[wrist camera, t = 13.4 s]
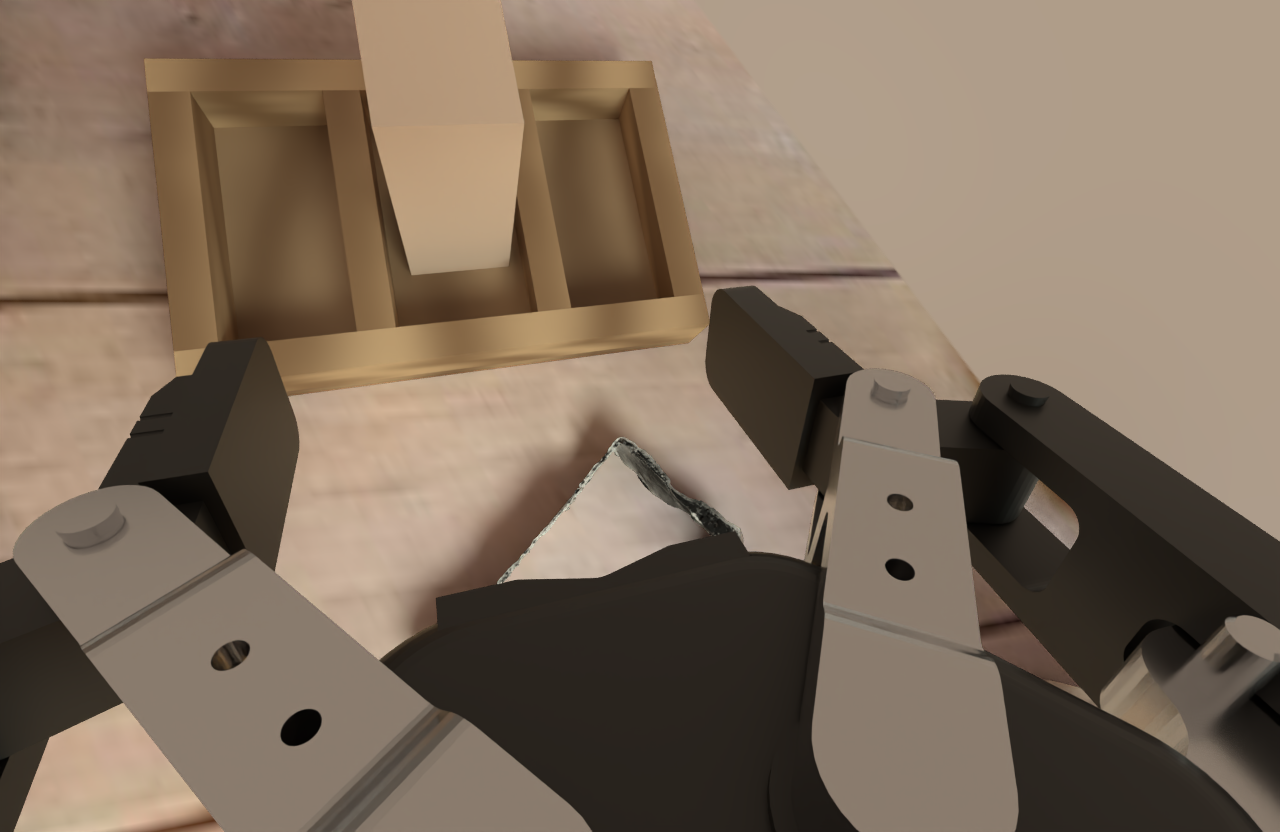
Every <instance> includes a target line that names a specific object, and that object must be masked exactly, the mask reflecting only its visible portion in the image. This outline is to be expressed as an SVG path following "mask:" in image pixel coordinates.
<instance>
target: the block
mask: <svg viewBox="0 0 1280 832" xmlns="http://www.w3.org/2000/svg"><path fill="white" fill-rule="evenodd" d="M352 5H353V11H354V17H355V24H356V30H357V36H358V43H359V49H360V55H361V62H362V68H363V74H364V81H365V87H366V93H367V100H368V106H369V112H370V119H371V125H372V130H373V133H374V137H375V141H376V145H377V148H378V152H379V156H380V159H381V163H382V167H383V171H384V174H385V178H386V182H387V186H388V189H389V193H390V197H391V201H392V204H393V208H394V212H395V215H396V219H397V223H398V227H399V230H400V234H401V238H402V242H403V245H404V249H405V253H406V257H407V260H408V264H409V268H410V271H411V275H420V274H432V273H443V272H454V271H465V270H476V269H487V268H498V267H509V260H510V251H511V241H512V232H513V223H514V214H515V204H516V195H517V186H518V177H519V168H520V158H521V149H522V140H523V131H524V119H523V114H522V108H521V103H520V98H519V93H518V88H517V83H516V77H515V72H514V67H513V62H512V57H511V52H510V46H509V41H508V36H507V31H506V26H505V21H504V16H503V10H502V5H501V0H352Z"/></svg>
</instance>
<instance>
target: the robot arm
mask: <svg viewBox="0 0 1280 832" xmlns="http://www.w3.org/2000/svg"><path fill="white" fill-rule="evenodd" d="M705 363H706V373H707V378H708V381H709V384H710V386H711V388H712V389H713V391H714V392H715V393H716V395H717V396H718V397H719V398H720V400H721V401H722V402H723V404H724V405H725V406H726V408H727V409H728V410H729V412H730V413H731V414H732V416H733V417H734V418H735V420H736V421H737V422H738V424H739V425H740V426H741V428H742V429H743V430H744V431H745V433H746V434H747V435H748V437H749V438H750V439H751V441H752V442H753V443H754V445H755V446H756V447H757V449H758V450H759V451H760V453H761V454H762V455H763V457H764V458H765V459H766V461H767V462H768V463H769V464H770V466H771V467H772V468H773V470H774V471H775V472H776V474H777V475H778V476H779V478H780V479H781V480H782V482H783V483H784V484H785V486H786V487H787V488H788V490H790V489H795V488H800V487H805V486H809V485H814V484H815V486H816V487H817V488H818V490H817V494H816V498H815V502H814V506H813V512H812V518H811V523H810V529H809V535H808V541H807V547H806V553H805V559H804V561H803V560H799V559H796V558H792V557H789V556H784V555H779V554H773V553H764V552H748V551H747V550H746V548H745V546H744V545H743V543H742V541H741V540H740V538H739V536H738V535H737V533H736V531H733V532H728V533H724V534H719V535H715V536H710V537H706V538H701V539H697V540H692V541H688V542H683V543H679V544H674V545H670V546H667V547H665V548H663V549H661V550H659V551H657V552H655V553H653V554H651V555H648V556H646V557H644V558H642V559H640V560H638V561H636V562H634V563H632V564H630V565H627V566H625V567H623V568H621V569H619V570H617V571H615V572H613V573H611V574H609V575H606V576H603V577H599V578H581V579H528V580H514V581H509V582H505V583H500V584H496V585H491V586H487V587H482V588H478V589H473V590H469V591H464V592H460V593H456V594H451V595H447V596H442V597H438V598H436V606H437V622H438V623H437V624H435V625H433V626H431V627H429V628H426V629H424V630H422V631H421V632H419V633H417V634H416V635H414V636H412V637H411V638H409V639H407V640H405V641H404V642H403V643H401V644H400V645H398V646H397V647H396V648H394V649H393V650H391V651H390V652H389V653H387V654H386V655H385V656H384V657H382V658H381V659H380V660H378V659H377V658H376V657H374V656H373V655H372V654H371V653H370V652H368V651H367V650H366V649H365V648H364V647H363V646H361V645H360V644H359V643H358V642H357V641H355V640H354V639H353V638H352V637H351V636H350V635H348V634H347V633H346V632H345V631H344V630H342V629H341V628H340V627H339V626H338V625H337V624H335V623H334V622H333V621H332V620H331V619H330V618H328V617H327V616H326V615H325V614H324V613H322V612H321V611H320V610H319V609H318V608H317V607H315V606H314V605H313V604H312V603H311V602H309V601H308V600H307V599H306V598H305V597H304V596H302V595H301V594H300V593H299V592H298V591H296V590H295V589H294V588H293V587H292V586H291V585H289V584H288V583H287V582H286V581H285V580H283V579H282V578H281V577H280V576H279V575H278V574H276V573H275V567H276V562H277V557H278V552H279V547H280V542H281V537H282V532H283V527H284V522H285V517H286V513H287V508H288V503H289V498H290V493H291V488H292V483H293V478H294V473H295V468H296V463H297V458H298V453H299V433H298V427H297V422H296V418H295V415H294V412H293V409H292V407H291V404H290V401H289V398H288V395H287V393H286V390H285V387H284V384H283V382H282V379H281V376H280V373H279V370H278V368H277V365H276V362H275V359H274V357H273V354H272V351H271V349H270V347H269V345H268V343H267V341H266V340H265V339H264V338H263V337H256V338H246V339H237V340H227V341H218V342H210V343H208V345H207V346H206V348H205V350H204V352H203V354H202V356H201V358H200V360H199V362H198V364H197V366H196V368H195V370H194V372H193V374H192V375H185V376H177V377H176V378H174V379H173V380H172V381H171V382H169V383H168V384H167V385H165V386H164V387H163V388H161V389H160V390H159V391H158V392H156V393H155V394H154V395H152V396H151V398H150V400H149V401H148V403H147V405H146V407H145V408H144V410H143V412H142V414H141V415H140V421H137V422H136V424H135V426H134V428H133V429H132V431H131V433H130V436H131V438H128V439H127V440H126V442H125V443H124V445H123V447H122V449H121V450H120V452H119V454H118V456H117V457H116V459H115V461H114V463H113V464H112V466H111V468H110V470H109V471H108V473H107V475H106V477H105V478H104V480H103V482H102V484H101V485H100V487H99V489H98V490H95V491H91V492H88V493H85V494H82V495H80V496H77V497H75V498H72V499H70V500H68V501H66V502H64V503H62V504H60V505H58V506H56V507H54V508H53V509H51V510H49V511H48V512H46V513H44V514H43V515H42V516H40V517H39V518H38V519H36V520H35V521H34V522H33V523H31V524H30V525H29V526H28V527H27V528H26V529H25V530H24V531H23V533H22V534H21V535H20V536H19V538H18V540H17V541H16V543H15V546H14V549H13V559H10V560H7V561H5V562H2V563H0V832H14V829H15V826H16V824H17V821H18V818H19V816H20V813H21V811H22V808H23V805H24V803H25V800H26V797H27V795H28V792H29V790H30V787H31V784H32V782H33V779H34V777H35V774H36V771H37V769H38V766H39V763H40V761H41V758H42V756H43V753H44V750H45V748H46V745H47V742H48V740H49V737H51V736H53V735H55V734H58V733H60V732H62V731H64V730H66V729H68V728H70V727H72V726H75V725H77V724H79V723H81V722H83V721H85V720H87V719H89V718H91V717H94V716H96V715H98V714H100V713H102V712H104V711H106V710H108V709H111V708H113V707H115V706H117V705H119V704H121V703H124V704H125V705H126V707H127V708H128V709H129V710H130V712H131V713H132V714H133V716H134V717H135V718H136V719H137V721H138V722H139V723H140V725H141V726H142V727H143V728H144V730H145V731H146V732H147V733H148V735H149V736H150V737H151V739H152V740H153V741H154V742H155V744H156V745H157V746H158V748H159V749H160V750H161V751H162V753H163V754H164V755H165V757H166V758H167V759H168V760H169V762H170V763H171V764H172V765H173V767H174V768H175V769H176V771H177V772H178V773H179V774H180V776H181V777H182V778H183V780H184V781H185V782H186V783H187V785H188V786H189V787H190V788H191V790H192V791H193V792H194V794H195V795H196V796H197V797H198V799H199V800H200V801H201V803H202V804H203V805H204V806H205V808H206V809H207V810H208V812H209V813H210V814H211V815H212V817H213V818H214V819H215V820H216V822H217V823H218V824H219V826H220V827H221V828H222V829H223V831H224V832H1280V541H1278V540H1277V539H1275V538H1274V537H1272V536H1271V535H1269V534H1268V533H1266V532H1265V531H1263V530H1262V529H1260V528H1259V527H1258V526H1256V525H1255V524H1253V523H1252V522H1250V521H1249V520H1247V519H1246V518H1244V517H1243V516H1242V515H1240V514H1239V513H1237V512H1236V511H1234V510H1233V509H1231V508H1230V507H1228V506H1227V505H1225V504H1224V503H1222V502H1221V501H1220V500H1218V499H1217V498H1215V497H1214V496H1212V495H1210V494H1209V493H1208V492H1206V491H1205V490H1203V489H1201V488H1200V487H1199V486H1197V485H1196V484H1194V483H1193V482H1192V481H1190V480H1189V479H1187V478H1186V477H1184V476H1183V475H1181V474H1180V473H1178V472H1177V471H1176V470H1174V469H1172V468H1171V467H1170V466H1168V465H1167V464H1165V463H1164V462H1162V461H1161V460H1159V459H1158V458H1156V457H1155V456H1153V455H1152V454H1150V453H1149V452H1148V451H1146V450H1145V449H1143V448H1142V447H1140V446H1139V445H1137V444H1136V443H1134V442H1133V441H1132V440H1130V439H1129V438H1127V437H1126V436H1124V435H1123V434H1121V433H1120V432H1118V431H1117V430H1115V429H1114V428H1112V427H1111V426H1109V425H1108V424H1107V423H1105V422H1104V421H1102V420H1101V419H1099V418H1098V417H1096V416H1095V415H1093V414H1091V413H1090V412H1089V411H1087V410H1086V409H1085V408H1083V407H1082V406H1080V405H1079V404H1077V403H1076V402H1074V401H1073V400H1071V399H1070V398H1068V397H1067V396H1065V395H1064V394H1063V393H1061V392H1060V391H1058V390H1056V389H1054V388H1053V387H1051V386H1049V385H1047V384H1044V383H1042V382H1039V381H1036V380H1033V379H1030V378H1026V377H1021V376H1015V375H994V376H990V377H987V378H985V379H984V380H982V382H981V383H980V386H979V388H978V390H977V393H976V395H975V397H974V400H973V401H952V400H936V399H935V395H934V393H933V392H932V391H931V389H930V388H929V387H928V386H926V385H925V384H924V383H922V382H921V381H919V380H917V379H915V378H914V377H911V376H909V375H906V374H903V373H900V372H897V371H892V370H886V369H865V370H864V369H863V368H862V367H861V366H859V365H858V364H857V363H856V362H855V361H854V360H852V359H851V358H850V357H849V356H848V355H846V354H845V353H844V352H843V351H842V350H841V349H839V348H838V347H837V346H836V345H835V344H834V343H832V342H829V339H828V338H826V337H825V336H824V335H823V334H822V333H821V332H817V329H816V328H815V327H814V326H812V325H811V324H810V323H809V322H808V321H807V320H805V319H804V318H803V317H802V316H800V315H797V314H795V313H793V312H791V311H789V310H786V309H784V308H782V307H779V306H778V305H776V304H775V303H774V302H773V301H772V300H771V299H770V298H768V297H767V296H766V295H765V294H764V293H763V292H762V291H760V290H759V289H758V288H757V287H755V286H745V287H736V288H726V289H718V290H717V291H716V292H715V294H714V296H713V299H712V304H711V313H710V323H709V332H708V341H707V350H706V361H705ZM1038 479H1039V480H1040V481H1042V482H1043V483H1044V484H1045V485H1046V486H1047V487H1049V488H1050V489H1051V490H1052V491H1053V492H1054V493H1056V494H1057V495H1058V496H1059V497H1060V498H1062V499H1063V500H1064V501H1065V502H1066V503H1067V504H1068V505H1069V506H1070V507H1071V508H1072V509H1073V511H1074V512H1075V514H1076V516H1077V518H1078V522H1079V535H1078V538H1077V540H1076V542H1075V543H1074V545H1073V546H1072V548H1071V549H1068V548H1067V547H1066V546H1065V545H1064V544H1063V543H1062V542H1061V541H1060V540H1059V539H1058V538H1057V537H1055V536H1054V535H1053V534H1052V533H1051V532H1050V531H1049V530H1048V529H1047V528H1046V527H1045V526H1044V525H1042V524H1041V523H1040V522H1039V521H1038V520H1037V519H1036V518H1035V517H1034V516H1033V515H1032V514H1031V513H1030V512H1028V511H1027V510H1026V509H1025V508H1024V505H1025V503H1026V502H1027V500H1028V498H1029V496H1030V494H1031V492H1032V490H1033V489H1034V487H1035V485H1036V483H1037V481H1038ZM972 566H973V567H974V568H975V569H976V570H977V572H978V573H979V574H980V575H981V576H982V577H983V578H984V579H985V581H986V582H987V583H988V584H989V585H990V586H991V587H992V588H993V590H994V591H995V592H996V593H997V594H998V595H999V596H1000V597H1001V599H1002V600H1003V601H1004V602H1005V603H1006V604H1007V605H1008V606H1009V608H1010V609H1011V610H1012V611H1013V612H1014V613H1015V614H1016V615H1017V617H1018V618H1019V619H1020V620H1021V621H1022V622H1023V623H1024V624H1025V626H1026V627H1027V628H1028V629H1029V630H1030V631H1031V632H1032V633H1033V635H1034V636H1035V637H1036V638H1037V639H1038V640H1039V641H1040V642H1041V644H1042V645H1043V646H1044V647H1045V648H1046V649H1047V650H1048V652H1049V653H1050V654H1051V655H1052V656H1053V657H1054V658H1055V659H1056V661H1057V662H1058V663H1059V664H1060V665H1061V666H1062V667H1063V668H1064V670H1065V671H1066V672H1067V673H1068V674H1069V675H1070V676H1071V677H1072V679H1073V680H1074V681H1075V682H1076V683H1077V684H1078V685H1079V686H1080V687H1076V686H1072V685H1068V684H1064V683H1060V682H1056V681H1051V680H1043V679H1041V678H1039V677H1037V676H1035V675H1033V674H1031V673H1029V672H1027V671H1025V670H1023V669H1021V668H1019V667H1017V666H1015V665H1013V664H1011V663H1009V662H1007V661H1005V660H1003V659H1001V658H999V657H997V656H995V655H993V654H991V653H989V652H987V651H985V650H983V647H982V644H981V638H980V631H979V622H978V614H977V606H976V598H975V590H974V582H973V573H972Z"/></svg>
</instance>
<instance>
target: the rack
mask: <svg viewBox="0 0 1280 832" xmlns="http://www.w3.org/2000/svg"><path fill="white" fill-rule="evenodd" d="M512 62H513V67H514V72H515V77H516V83H517V88H518V93H519V98H520V103H521V108H522V114H523V119H524V131H523V140H522V149H521V158H520V168H519V177H518V186H517V195H516V204H515V214H514V223H513V232H512V241H511V251H510V260H509V267H498V268H487V269H476V270H465V271H454V272H443V273H432V274H420V275H411V271H410V268H409V264H408V260H407V257H406V253H405V249H404V245H403V242H402V238H401V234H400V230H399V227H398V223H397V219H396V215H395V212H394V208H393V204H392V201H391V197H390V193H389V189H388V186H387V182H386V178H385V174H384V171H383V167H382V163H381V159H380V156H379V152H378V148H377V145H376V141H375V137H374V133H373V130H372V125H371V119H370V112H369V106H368V100H367V93H366V87H365V81H364V74H363V68H362V62H361V60H325V59H144V66H145V76H146V85H147V95H148V105H149V115H150V124H151V134H152V144H153V154H154V164H155V173H156V183H157V193H158V203H159V213H160V222H161V232H162V242H163V252H164V261H165V271H166V281H167V291H168V301H169V310H170V320H171V330H172V340H173V350H174V359H175V369H176V377H177V376H185V375H192V374H193V372H194V370H195V368H196V366H197V364H198V362H199V360H200V358H201V356H202V354H203V352H204V350H205V348H206V346H207V345H208V343H210V342H218V341H227V340H237V339H246V338H256V337H263V338H264V339H265V340H266V341H267V343H268V345H269V347H270V349H271V351H272V354H273V357H274V359H275V362H276V365H277V368H278V370H279V373H280V376H281V379H282V382H283V384H284V387H285V390H286V393H287V395H288V396H292V395H300V394H307V393H315V392H322V391H330V390H337V389H345V388H352V387H360V386H368V385H375V384H383V383H390V382H398V381H405V380H413V379H420V378H428V377H436V376H443V375H451V374H458V373H466V372H473V371H481V370H488V369H496V368H504V367H511V366H519V365H526V364H534V363H541V362H549V361H557V360H564V359H572V358H579V357H587V356H594V355H602V354H609V353H617V352H625V351H632V350H640V349H647V348H655V347H662V346H670V345H677V344H685V343H689V342H690V341H691V340H692V339H694V338H695V337H696V336H697V335H698V334H699V333H700V332H701V331H702V330H704V329H705V328H706V327H707V326H708V325H709V323H710V320H709V316H708V311H707V307H706V302H705V298H704V293H703V289H702V285H701V280H700V276H699V271H698V267H697V262H696V258H695V253H694V249H693V244H692V240H691V235H690V231H689V226H688V222H687V217H686V213H685V208H684V204H683V200H682V195H681V191H680V186H679V182H678V177H677V173H676V168H675V164H674V159H673V155H672V150H671V146H670V141H669V137H668V132H667V128H666V123H665V119H664V115H663V110H662V106H661V101H660V97H659V92H658V88H657V83H656V79H655V74H654V70H653V65H652V61H516V60H512Z"/></svg>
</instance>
